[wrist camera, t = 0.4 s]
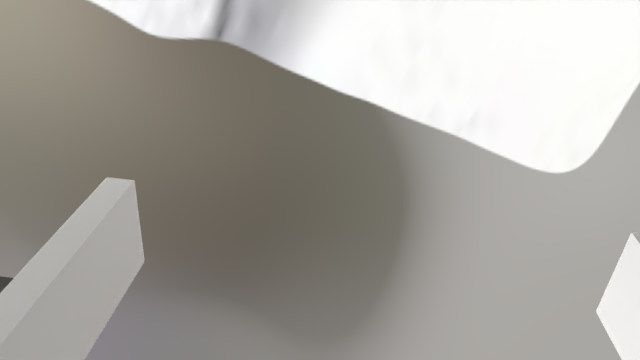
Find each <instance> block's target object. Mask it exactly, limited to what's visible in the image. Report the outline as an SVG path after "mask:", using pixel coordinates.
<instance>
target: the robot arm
mask: <svg viewBox="0 0 640 360" xmlns="http://www.w3.org/2000/svg"><path fill="white" fill-rule="evenodd" d="M141 238H142V237H141V229H140V222H139V213H138V206H137V197H136V189H135V182H134V180H126V179H116V178H106V179H105V180H104V181H103V182H102V183H101V184H100V185H99V186H98V187H97V188H96V189H95V191H94V192H93V193H92V194H91V195H90V196H89V197H88V198H87V199H86V200H85V202H84V203H83V204H82V205H81V206H80V207H79V208H78V209H77V210H76V211H75V212H74V214H73V215H72V216H71V217H70V218H69V219H68V220H67V221H66V222H65V223H64V224H63V226H61V228H60V229H59V230H58V231H57V232H56V233H55V234H54V235H53V236H52V237H51V239H50V240H49V241H48V242H47V243H46V244H45V245H44V246H43V247H42V248H41V249H40V250H39V252H38V253H37V254H36V255H35V256H34V257H33V258H32V259H31V260H30V261H29V262H28V264H27V265H26V266H25V267H24V268H23V269H22V270H21V271H20V272H19V273H18V274H17V275H16V277H15V278H7V277H0V360H85V358H86V356H87V355H88V353H89V351H90V350H91V348H92V347H93V345H94V343H95V342H96V340H97V338H98V337H99V335H100V333H101V332H102V330H103V329H104V327H105V325H106V324H107V322H108V320H109V319H110V317H111V315H112V314H113V312H114V310H115V309H116V307H117V305H118V304H119V302H120V301H121V299H122V297H123V296H124V294H125V292H126V291H127V289H128V288H129V286H130V284H131V283H132V281H133V279H134V278H135V276H136V274H137V273H138V271H139V269H140V268H141V266H142V265H143V263H144V254H143V245H142V239H141ZM596 312H597V314H598V316H599V318H600V320H601V322H602V324H603V325H604V327H605V329H606V331H607V333H608V335H609V336H610V339H611V340H612V342H613V344H614V346H615V348H616V350H617V352H618V353H619V355H620V357H621V359H622V360H640V233H631V235H630V237H629V239H628V241H627V244H626V246H625V248H624V250H623V253H622V255H621V257H620V259H619V261H618V264H617V266H616V268H615V270H614V273H613V275H612V277H611V279H610V282H609V284H608V286H607V288H606V290H605V293H604V295H603V297H602V300H601V302H600V304H599V306H598V308H597V310H596Z"/></svg>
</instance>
